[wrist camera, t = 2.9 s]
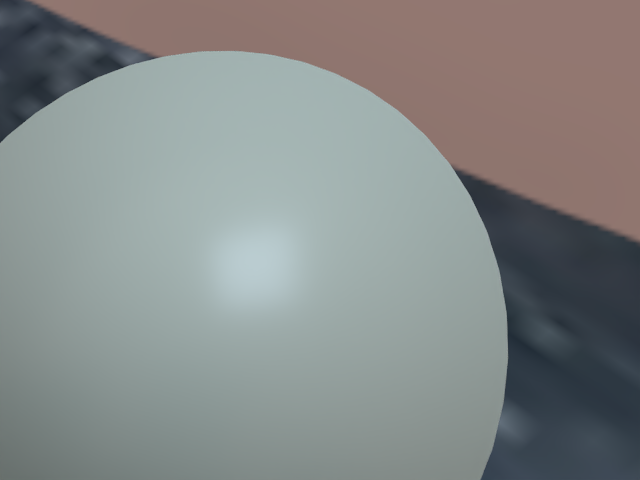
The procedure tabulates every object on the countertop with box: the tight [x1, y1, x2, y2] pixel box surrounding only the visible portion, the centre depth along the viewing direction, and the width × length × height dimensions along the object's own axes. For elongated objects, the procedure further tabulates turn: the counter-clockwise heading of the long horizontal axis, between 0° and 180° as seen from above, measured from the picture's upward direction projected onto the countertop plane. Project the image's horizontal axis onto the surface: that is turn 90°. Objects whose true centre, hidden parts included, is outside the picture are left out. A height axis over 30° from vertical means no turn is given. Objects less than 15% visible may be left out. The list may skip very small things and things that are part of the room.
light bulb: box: [0, 51, 508, 480], centre depth 11 cm, size 6×6×13 cm
